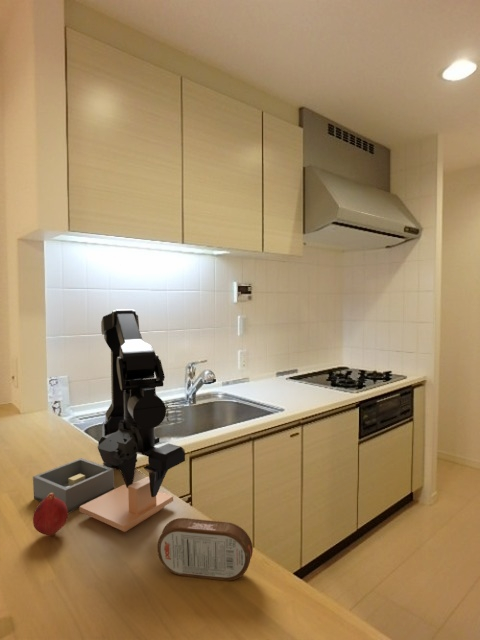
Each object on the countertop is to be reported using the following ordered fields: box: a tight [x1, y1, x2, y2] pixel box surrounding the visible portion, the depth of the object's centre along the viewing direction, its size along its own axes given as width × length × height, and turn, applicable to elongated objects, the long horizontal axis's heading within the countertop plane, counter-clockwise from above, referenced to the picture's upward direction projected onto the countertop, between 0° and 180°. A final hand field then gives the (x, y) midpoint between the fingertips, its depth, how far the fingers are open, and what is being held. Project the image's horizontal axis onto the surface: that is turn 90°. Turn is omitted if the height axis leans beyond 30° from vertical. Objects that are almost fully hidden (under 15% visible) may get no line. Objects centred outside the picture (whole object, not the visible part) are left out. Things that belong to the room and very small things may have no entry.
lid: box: [78, 475, 174, 533], centre depth 82 cm, size 13×13×8 cm
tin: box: [156, 517, 254, 582], centre depth 63 cm, size 15×3×8 cm, turn 80°
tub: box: [32, 458, 115, 514], centre depth 90 cm, size 12×12×5 cm
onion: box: [32, 493, 69, 537], centre depth 74 cm, size 6×6×8 cm
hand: (141, 491), depth 79 cm, fingers open, 7 cm apart
